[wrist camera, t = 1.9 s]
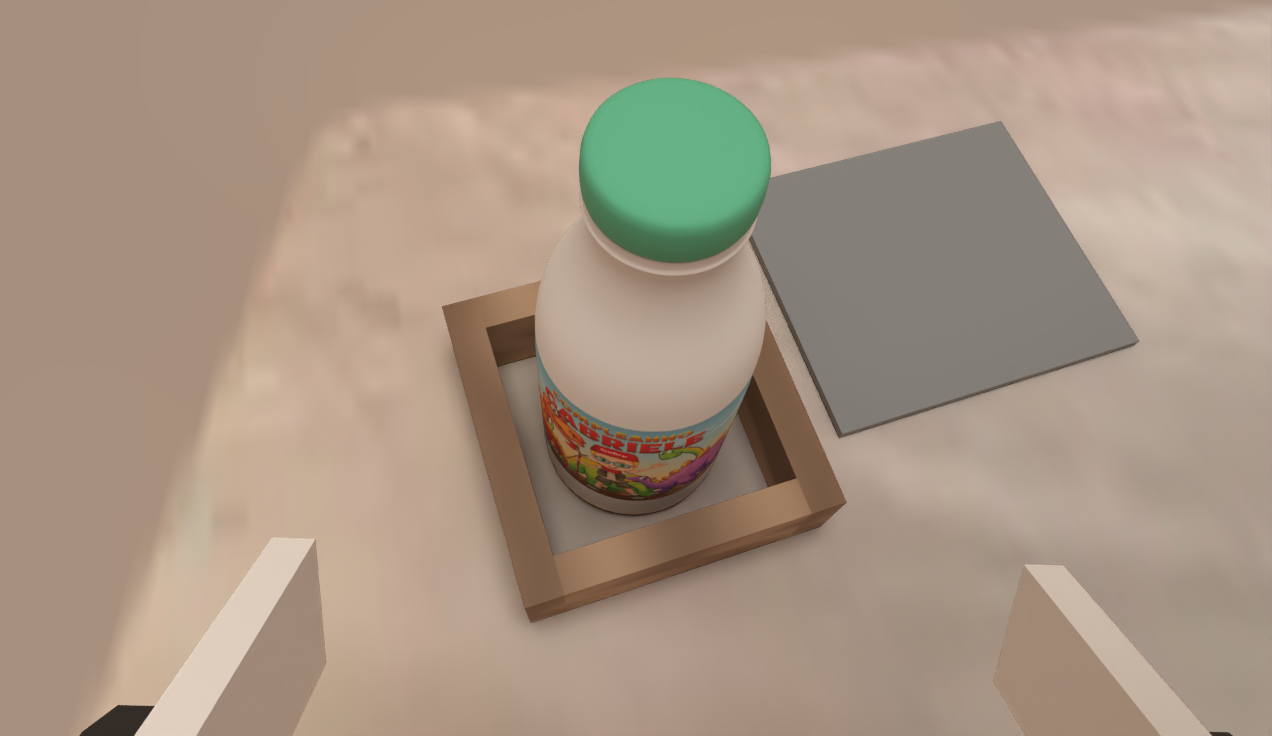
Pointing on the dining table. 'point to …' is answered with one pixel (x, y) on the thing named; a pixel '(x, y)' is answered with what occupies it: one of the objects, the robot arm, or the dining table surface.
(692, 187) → the milk bottle
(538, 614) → the walnut collar
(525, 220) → the dining table surface
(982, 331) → the slate mat
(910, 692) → the dining table surface
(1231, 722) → the dining table surface
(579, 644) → the dining table surface
